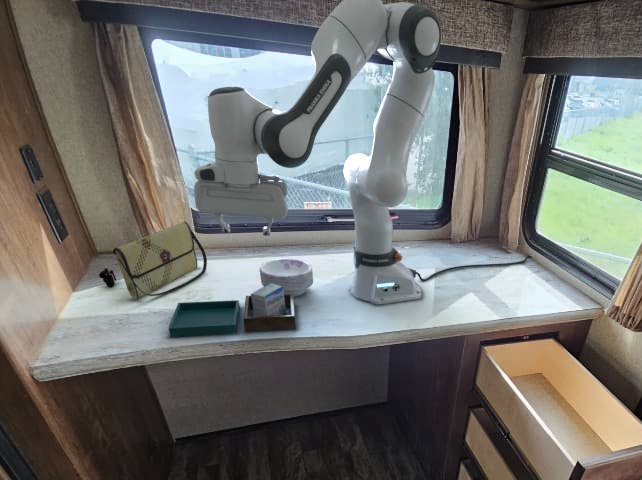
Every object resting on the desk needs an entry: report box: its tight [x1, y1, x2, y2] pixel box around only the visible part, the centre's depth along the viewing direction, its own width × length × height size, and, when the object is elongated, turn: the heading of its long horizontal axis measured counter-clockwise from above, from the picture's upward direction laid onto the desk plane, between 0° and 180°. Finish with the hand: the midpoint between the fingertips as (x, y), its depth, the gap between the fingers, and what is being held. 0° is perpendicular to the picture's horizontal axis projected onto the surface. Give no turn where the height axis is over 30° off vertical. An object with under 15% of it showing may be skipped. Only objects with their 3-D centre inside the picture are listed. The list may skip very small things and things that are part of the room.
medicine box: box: [250, 284, 287, 317], centre depth 116 cm, size 8×4×9 cm, turn 160°
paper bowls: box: [259, 258, 314, 298], centre depth 131 cm, size 15×15×8 cm
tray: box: [168, 299, 241, 338], centre depth 114 cm, size 15×14×3 cm
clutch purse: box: [112, 221, 208, 301], centre depth 126 cm, size 30×7×15 cm, turn 167°
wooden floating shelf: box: [242, 294, 297, 333], centre depth 118 cm, size 13×14×4 cm
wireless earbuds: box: [98, 268, 117, 288], centre depth 124 cm, size 7×2×5 cm, turn 14°
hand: (247, 233), depth 106 cm, fingers open, 8 cm apart
